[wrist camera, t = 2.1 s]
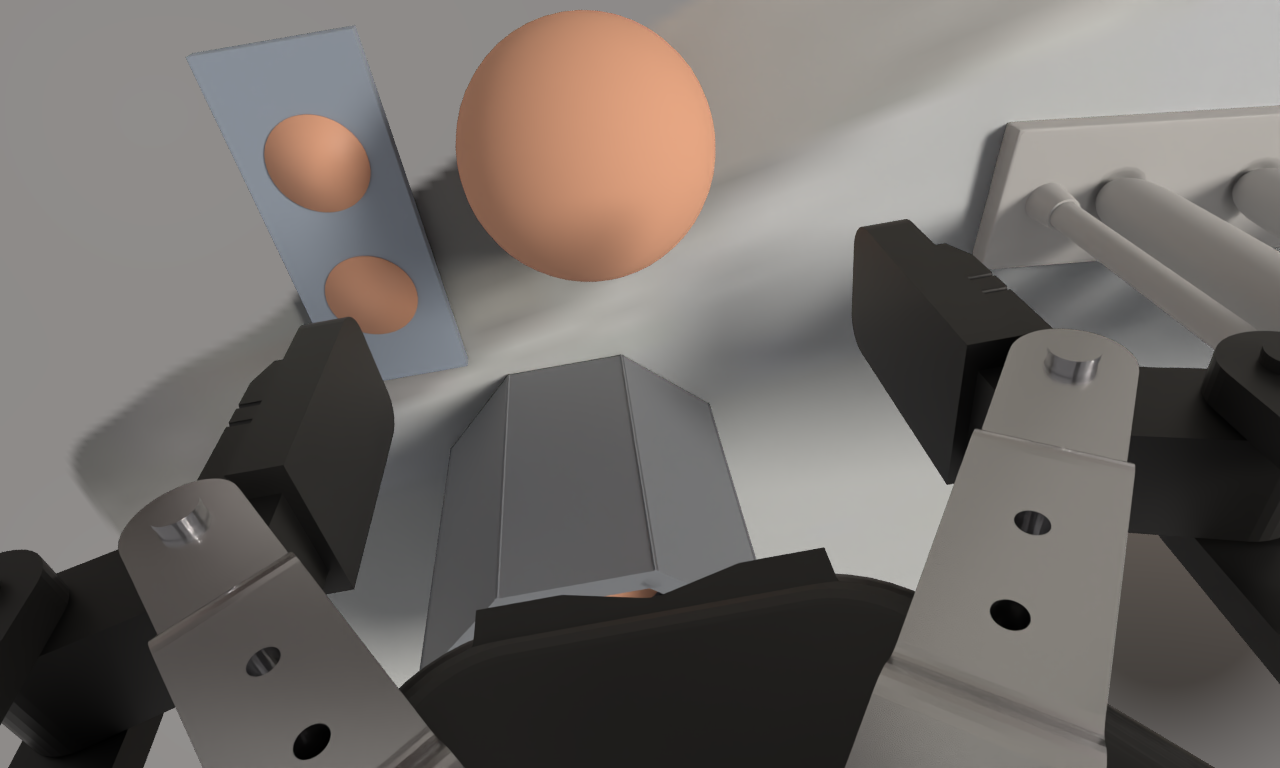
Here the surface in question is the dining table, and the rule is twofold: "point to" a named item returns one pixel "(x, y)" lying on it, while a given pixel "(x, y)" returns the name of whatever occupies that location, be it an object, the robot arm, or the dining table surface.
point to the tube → (581, 495)
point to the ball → (585, 145)
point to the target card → (334, 191)
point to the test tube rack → (1149, 209)
